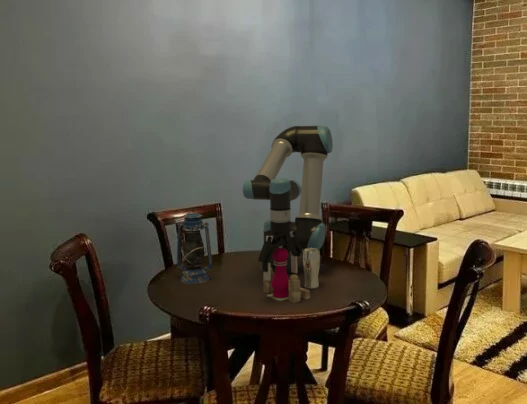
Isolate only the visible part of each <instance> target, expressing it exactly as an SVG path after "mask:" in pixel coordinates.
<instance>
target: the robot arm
mask: <svg viewBox="0 0 527 404" xmlns="http://www.w3.org/2000/svg"><path fill="white" fill-rule="evenodd" d="M270 145H271V149H270V150H269V152H268V155H266V158H265V159H264V161H263V163H262V165H261V166H260V168H259V170H258V171H257V173H256V174H255V176H254V178H253V179H246V180H245V181H244V183H243V185H242V194H243V197H244V198H245V199H247V200H257V201H259V200H263V201H269V205H270V207H269V211H270V212H269V213H270V214H269V215H270V216H269V218H270V219H268V220H266V221H264V223H263V245H262V248H261V250H260V253H259V257H258V259H257V261H258V262H260V263H261V264H260V272H261V273H262V274H263V272H264V279H265V280H268V281H270V280H271V272H270V267H271V268H272V269H273V272H274V274H275V265H274V258H273V256H272V255H273V253H274V252H275V250H276V248H278V246H283V247H282V248H285V249H286V250H287V251H288V258H287V259H286V260H287V265H286V272H287V275H289V274H293V273H294V274H298V264H299V257H301V254H303V249H306V248H317V249H319V250H320V249H321V248H322V247H323V244H324V243H325V239H326V236H327V235H326V234H327V230H326V229H327V227H326V224H325V223H323V218H322V217H321V216H320V208H321V195H322V186H323V185H322V184H323V171H324V162H325V160H326V159H328V154H330V153H332V152H333V136H332V133H331V129H330V128H329V127H328V126H325V125H319V124H318V125H294V126H291V127H288V128H286V129H284V130H283V131H281V132H279V134H278V135H277V136H276V137H275V138H273V141H272V143H271V144H270ZM292 153H300V156H301V158H302V159H303V167H302V177H301V185H300V183H299V182H298V181H296V180H293V179H291V180H290V179H288V178H277V176H278V174H279V173H280V170H281V169H282V167H283V166H284V163H285V161H286V160H287V158H289V157H290V156H291V155H292ZM298 197H300V201H299V210H298V211H299V213H298V214H297V215H296V216H295V218H294V221H291V218H292V217H291V216H292V215H291V202H292V201H294V200H297V198H298Z"/></svg>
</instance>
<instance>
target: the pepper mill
mask: <svg viewBox="0 0 527 404" xmlns="http://www.w3.org/2000/svg"><path fill="white" fill-rule="evenodd" d="M282 247H283V246H278V248H276V250H275V252H274V253H273V255H272V256H273V258H274V265H275V274H274V277H273V279H272V288H273V289H274V291H273V293H272V294H273V296H274V297H276V298H286V297H288V296H289V290H288V289H289V280H290V276H288V275H289V274H287V272H286V265H287V260H286V259H287V258H288V251H287V250H286V249H285V248H282Z"/></svg>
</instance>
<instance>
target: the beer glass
mask: <svg viewBox="0 0 527 404" xmlns="http://www.w3.org/2000/svg"><path fill="white" fill-rule="evenodd" d="M302 251H303V252H302V260H301V261H302V268H303V269H302V270H303V273H304V274H303V275H304V282H303V287H304V289H308V290H309V289H313V290H314V289H318V288H319V287H320V284H319V273H320V266H321V255H320V254H321V253H320V249H317V248H306V249H303V250H302Z"/></svg>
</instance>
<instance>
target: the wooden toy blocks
mask: <svg viewBox="0 0 527 404" xmlns="http://www.w3.org/2000/svg"><path fill="white" fill-rule="evenodd" d="M270 272H271V280H270V281H268V280H265V279H264V272H263V273H262V275H263V277H262V279H263V281H262V283H263V286H262V287H263V291H262V292H263V293H265V294H267V295H266V297H267V298H269V299H272V300H275V301H278V302H283V301H287V300H288V302H290V303H293V304H297V303H299V302H301V299H304V300H308V299H310V298H311V290H309V289H308V288H305V287H304V288H303V287H301V280H300V279H299V276H298V275H297V274H296V273H294V274H291V275H290V276H289V279H290V280H289V289H288V290H289V296H288V297H286V298H276V297H274V296H273V291H274V289H273V288H272V279H273V277H274V272H273V269H272V268H271V267H270Z"/></svg>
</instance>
